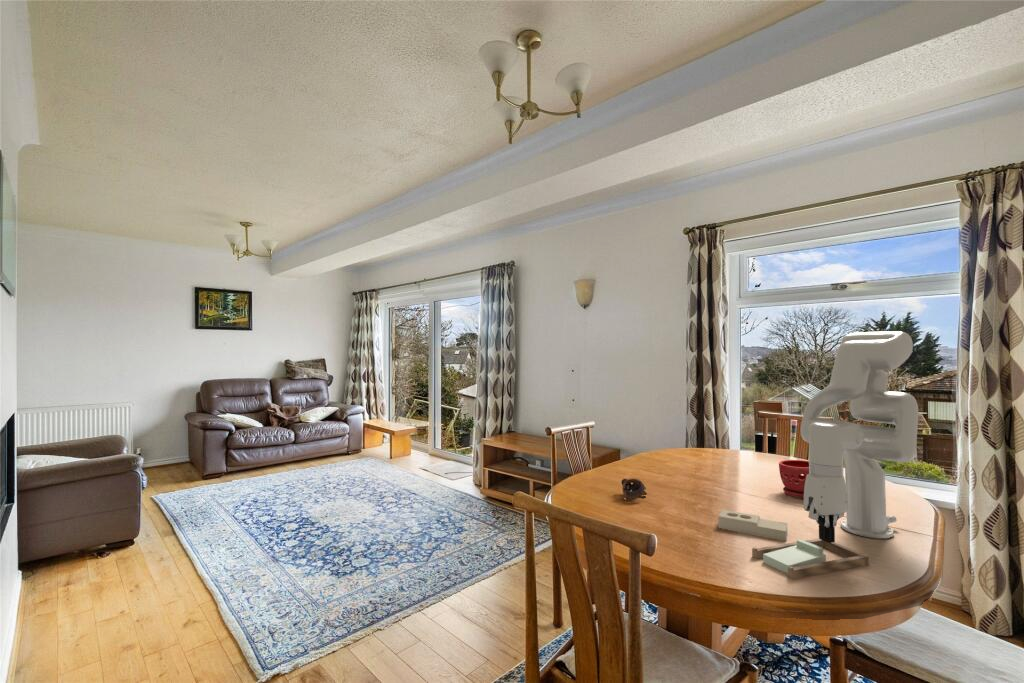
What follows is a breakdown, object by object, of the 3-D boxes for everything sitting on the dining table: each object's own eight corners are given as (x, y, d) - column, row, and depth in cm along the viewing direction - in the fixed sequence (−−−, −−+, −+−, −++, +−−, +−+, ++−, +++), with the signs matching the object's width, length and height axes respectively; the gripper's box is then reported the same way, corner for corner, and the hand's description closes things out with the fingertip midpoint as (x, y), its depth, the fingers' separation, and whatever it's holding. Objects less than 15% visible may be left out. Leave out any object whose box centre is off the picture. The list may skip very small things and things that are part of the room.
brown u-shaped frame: (823, 544, 129) (823, 535, 129) (868, 564, 117) (868, 554, 117) (752, 556, 122) (752, 547, 122) (792, 579, 110) (791, 568, 110)
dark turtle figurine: (654, 500, 170) (650, 483, 167) (635, 515, 167) (631, 498, 163) (631, 484, 180) (627, 468, 177) (613, 497, 177) (609, 482, 173)
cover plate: (799, 553, 125) (799, 538, 125) (825, 564, 118) (825, 548, 118) (763, 563, 119) (763, 547, 119) (788, 575, 113) (788, 559, 113)
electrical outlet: (785, 528, 132) (718, 516, 142) (786, 542, 132) (718, 529, 142) (787, 519, 138) (722, 509, 148) (787, 533, 138) (722, 521, 148)
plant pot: (808, 489, 177) (808, 458, 178) (828, 501, 164) (828, 467, 164) (773, 489, 179) (772, 458, 179) (790, 500, 166) (789, 467, 166)
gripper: (834, 465, 127) (835, 532, 126) (791, 468, 123) (791, 537, 122) (861, 472, 120) (862, 543, 119) (816, 475, 116) (817, 549, 115)
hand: (826, 540), depth 121 cm, fingers closed
